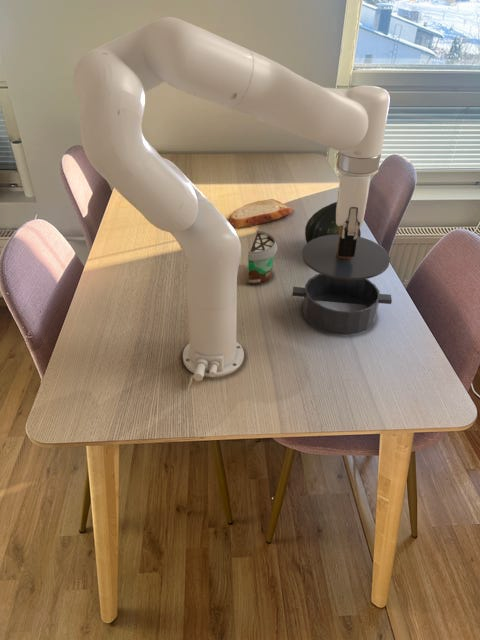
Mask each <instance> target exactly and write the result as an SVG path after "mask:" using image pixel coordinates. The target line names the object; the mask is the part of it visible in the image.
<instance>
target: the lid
mask: <svg viewBox="0 0 480 640" xmlns="http://www.w3.org/2000/svg"><path fill="white" fill-rule="evenodd" d="M346 223H349V222H346ZM359 228H360V227H358V229H357V236H356V238H357V242H356V249H355V255H354V257H345V256H339V255H338V250H339V242H340V237H342V230H343V226H340V231H339V234H336V235H326V236H321V237H318V238H315V239H313V240H311V241H309V242H308V243H307V242H306V244H304V245H303V248H302V252H301V257H302V260H303V262H304V264H305V265H306V266H307V267H308V268H310V269H311V270H312V271H314V272H316V273H317V274H322V275H325V276H328V277H332V278H336V279H343V280H362V279H368V280H369V279H373V278H375V277H378V276H380V275H382V274H383V273H384V272H385V271H387V269H388V268H389V266H390V262H391V257H390V254H389V253H388V251H387V250H386V249H385V248H384V247H383V246H382V245H380V244H379V243H377V242H375V241H373V240H371V239H368V238H365V237H362V236H360V237H358V230H359ZM346 230H348V227H346ZM346 230H345V232H346Z"/></svg>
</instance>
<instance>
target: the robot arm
mask: <svg viewBox="0 0 480 640" xmlns="http://www.w3.org/2000/svg"><path fill="white" fill-rule="evenodd" d="M72 83H73V88H74V91H75V93H76V96H77V98H78V100H79V101H80V103H81V105H82V107H81V116H80V124H79V126H80V127H79V132H80V141H81V145H82V148H83V152H84V154H85V156H86V158H87V160H88V162H89V163H90V165H91V166H92V167H93V168H94V169H95V171H96V172H97V173H98V174H99V175H100V176H101V177H102V178H103V179H104V180H105V181H107V183H108V184H110V185H111V187H113V189H114V190H116V191H117V193H119V194H120V195H121V197H122V198H124V199H125V200H126V201H127V202H128V203H129V204H130V205H131V206H133V207H134V208H135V210H137V211H138V212H139V213H140V214H141V215H142V216H143V218H144V219H145V220H147V222H149V223H150V224H151V225H152V226H154V227H155V228H156V229H159V230H160V231H163V232H166V233H170V234H171V235H172V236H173V238H174V239H175V240H176V242H177V244H178V245H179V247H180V249H181V251H182V252H183V254H184V256H185V259H186V265H187V267H186V268H187V269H186V274H185V275H186V276H185V297H186V310H187V325H188V341H189V342H188V343H187V344H186V346H185V347H184V348H183V352H182V361H183V364H184V366H185V367H186V369H187V370H188V371H189V372H191V373H192V374H193V375H192V377H193V380H194V381H197V382H202V381H203V379H204V377H208V378H215V377H216V378H217V377H224V376H227V375H230V374H231V373H233V372H236V371H237V370H238V369H239V368H240V367H241V366H242V364H243V362H244V359H245V352H244V348H243V346H242V345H241V344H240V343H239V342H238V341H237V330H238V329H237V326H238V325H237V317H238V316H237V313H238V311H237V310H238V309H237V305H238V304H237V303H238V302H237V301H238V295H237V293H238V292H237V291H238V287H237V286H238V273H239V267H240V262H241V257H242V243H241V240H240V237H239V235H238V232H237V231H236V230H235V229H236V228H234V227H232V225H231V224H230V223H229V220H227V218H226V217H225V216H224V215H223V214H222V213H221V212H220V211H219V209H218V208H217V207H216V206H215V205H214V204H213V203H212V201H210V200H209V198H207V197H206V196H205V195H204V194H203V192H202V191H200V189H199V188H198V187H197V186H196V185H195V184H194V183H193V182H192V181H191V180H190V179H189V178H188V176H187V175H185V173H184V172H183V171H182V170H181V169H180V168H179V167H178V166H177V165H176V164H175V163H174V162H172V161H171V160H169V159H168V158H165V157H162V156H161V155H160V154H159V152H158V151H157V150H156V149H155V147H154V146H153V145H151V144H150V143H149V141H148V140H147V139H146V137H145V136H144V134H143V129H142V127H143V125H142V123H143V117H144V113H145V107H146V92H149V91H151V90H152V89H154V88H156V87H158V86H160V85H162V84H164V83H166V84H167V85H169V86H171V87H172V88H174V89H176V90H177V91H181V92H183V93H186V94H188V95H191V96H194V97H197V98H199V99H202V100H205V101H209V102H210V103H214V104H216V105H218V106H222V107H224V108H226V109H229V110H232V111H234V112H236V113H237V112H238V113H239V114H242V115H245V116H248V117H250V118H252V119H254V120H256V121H259V122H261V123H264V124H267V125H269V126H272V127H276V128H279V129H281V130H284V131H285V132H289V133H292V134H294V135H296V136H298V137H301V138H304V139H306V140H308V141H311V142H313V143H316V144H319V145H322V146H325V147H327V148H330V149H332V150H336V151H337V158H336V159H337V160H336V171H338V172H339V173H340V178H339V183H338V191H337V199H336V202H337V206H336V224H337V226H343V230H342V237H340V242H339V250H338V255H339V256H345V257H354V255H355V249H356V242H357V238H356V236H357V229H358V227H359V228H361V227H362V226H363V223H364V219H365V214H366V209H367V203H368V198H369V191H370V185H371V177H372V176H375V175H376V174H378V173H379V168H380V164H381V157H382V151H383V150H382V149H383V144H384V138H385V132H386V127H387V120H388V114H389V108H390V103H391V102H390V100H391V97H390V94H389V92H388V91H387V89H385V88H382V87H379V86H375V85H357V86H353V87H351V88H335V87H324V86H321V85H319V84H318V83H315V82H313V81H311V80H309V79H307V78H305V77H303V76H302V75H300V74H298V73H296V72H294V71H293V70H291V69H289V68H288V67H286V66H284V65H283V64H280V63H279V62H277V61H275V60H272V59H271V58H268V57H267V56H265V55H262V54H261V53H258V52H255V51H253V50H251V49H250V48H249V49H248V48H246V47H244V46H242V45H240V44H237V43H236V42H233V41H231V40H229V39H226V38H224V37H222V36H220V35H217V34H215V33H213V32H211V31H209V30H207V29H204V28H203V27H200V26H197V25H195V24H193V23H190V22H188V21H185V20H183V19H180V18H178V17H174V16H164V17H163V16H162V17H160V18H157V19H154V20H152V21H150V22H147V23H145V24H143V25H141V26H139V27H137V28H134V29H133V30H130V31H129V32H127V33H124V34H123V35H120V36H118V37H116V38H114V39H112V40H109V41H108V42H105V43H103V44H101V45H98V46H97V47H95V48H92V49H91V50H89V51H87V52H86V53H84V55H82V56H81V57H80V58H79V60H78V61H77V63H76V65H75V66H74V69H73V75H72ZM346 222H349V223H346ZM346 227H348V230H346ZM345 230H346V232H345Z"/></svg>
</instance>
